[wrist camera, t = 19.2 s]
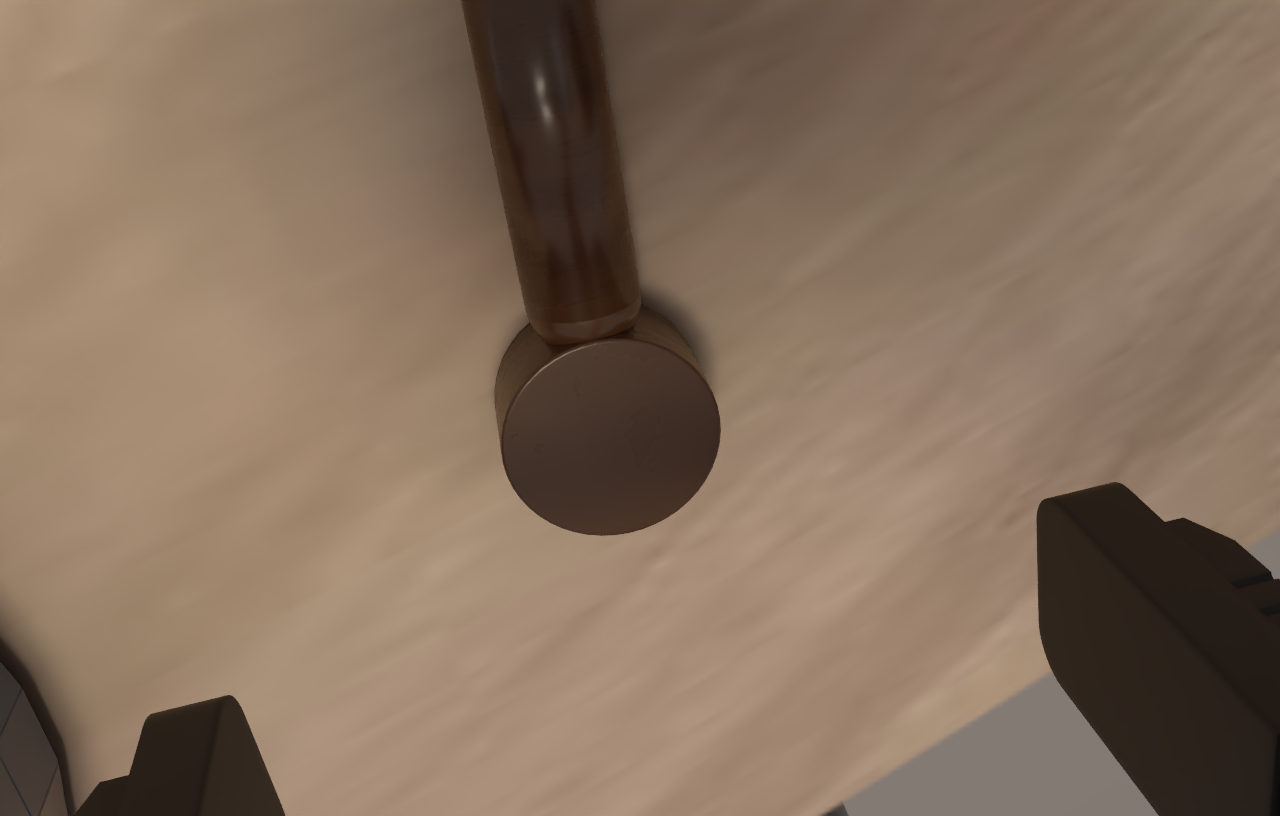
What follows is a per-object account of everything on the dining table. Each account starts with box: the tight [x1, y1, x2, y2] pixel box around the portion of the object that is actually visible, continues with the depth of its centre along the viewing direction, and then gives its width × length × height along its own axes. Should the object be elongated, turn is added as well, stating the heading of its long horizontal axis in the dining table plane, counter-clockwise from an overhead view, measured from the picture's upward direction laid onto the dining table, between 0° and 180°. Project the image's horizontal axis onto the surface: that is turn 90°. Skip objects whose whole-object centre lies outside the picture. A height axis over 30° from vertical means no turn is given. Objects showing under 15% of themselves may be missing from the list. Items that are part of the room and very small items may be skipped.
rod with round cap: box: [461, 0, 721, 536], centre depth 26 cm, size 16×5×3 cm, turn 9°
